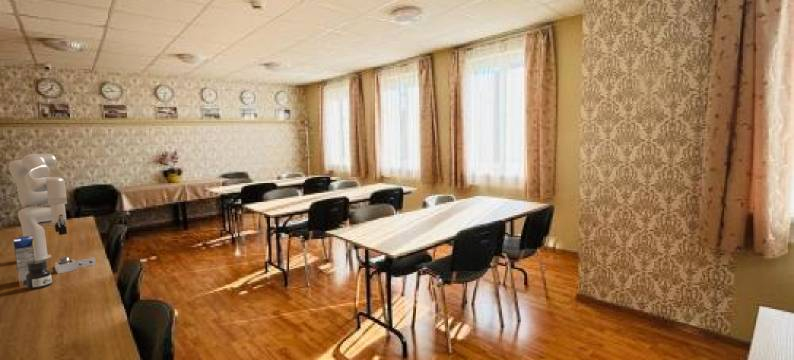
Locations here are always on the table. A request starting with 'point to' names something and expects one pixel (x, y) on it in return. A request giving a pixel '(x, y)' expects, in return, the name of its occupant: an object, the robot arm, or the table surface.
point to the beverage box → (24, 256)
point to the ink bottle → (38, 275)
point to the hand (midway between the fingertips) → (61, 232)
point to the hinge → (74, 265)
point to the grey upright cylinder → (64, 260)
